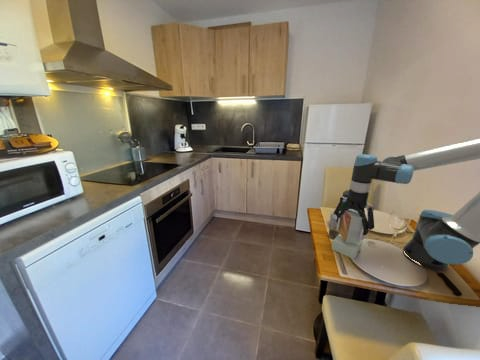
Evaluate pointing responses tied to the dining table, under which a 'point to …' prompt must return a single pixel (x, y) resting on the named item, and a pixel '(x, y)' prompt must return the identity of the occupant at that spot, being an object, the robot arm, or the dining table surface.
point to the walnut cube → (333, 232)
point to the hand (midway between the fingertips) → (349, 234)
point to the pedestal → (346, 247)
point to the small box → (351, 226)
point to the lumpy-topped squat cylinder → (333, 219)
